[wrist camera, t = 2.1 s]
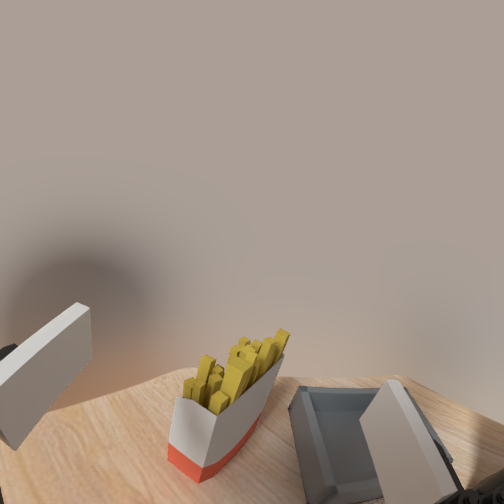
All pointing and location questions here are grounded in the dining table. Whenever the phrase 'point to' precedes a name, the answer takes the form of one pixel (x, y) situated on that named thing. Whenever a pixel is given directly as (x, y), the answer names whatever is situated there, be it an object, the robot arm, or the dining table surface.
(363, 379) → the dining table surface
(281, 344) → the french fries container
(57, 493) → the dining table surface
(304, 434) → the tray
